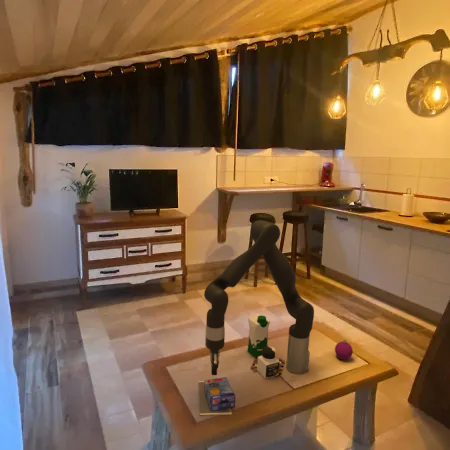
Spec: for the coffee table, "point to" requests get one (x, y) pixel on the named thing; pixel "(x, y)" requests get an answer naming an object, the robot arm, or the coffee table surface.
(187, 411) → the coffee table surface
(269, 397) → the coffee table surface
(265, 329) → the milk carton
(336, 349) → the christmas ornament
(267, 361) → the medicine bottle
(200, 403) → the mat
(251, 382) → the coffee table surface
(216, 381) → the ink cartridge box
